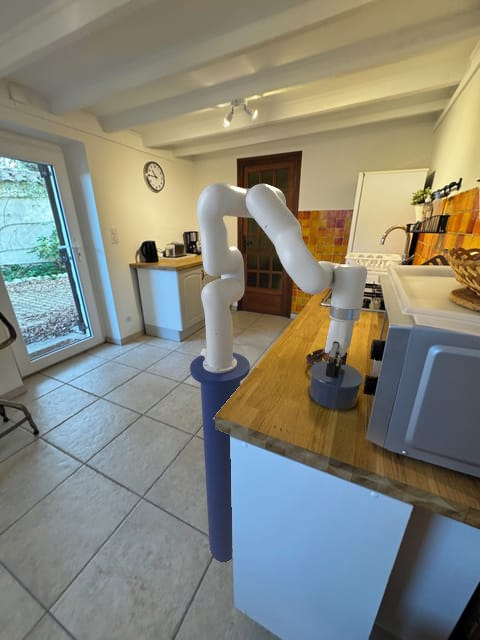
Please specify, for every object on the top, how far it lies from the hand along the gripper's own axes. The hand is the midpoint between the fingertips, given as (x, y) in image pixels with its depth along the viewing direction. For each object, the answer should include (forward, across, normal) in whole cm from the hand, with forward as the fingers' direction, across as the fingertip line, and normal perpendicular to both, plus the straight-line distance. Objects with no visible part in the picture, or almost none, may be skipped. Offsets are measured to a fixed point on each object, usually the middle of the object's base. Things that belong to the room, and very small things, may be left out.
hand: (335, 369), depth 72 cm
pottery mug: (+9, -14, -7) cm, 18 cm away
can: (+9, -13, +12) cm, 20 cm away
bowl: (+9, 0, 0) cm, 9 cm away
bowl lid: (+2, 0, 0) cm, 2 cm away
